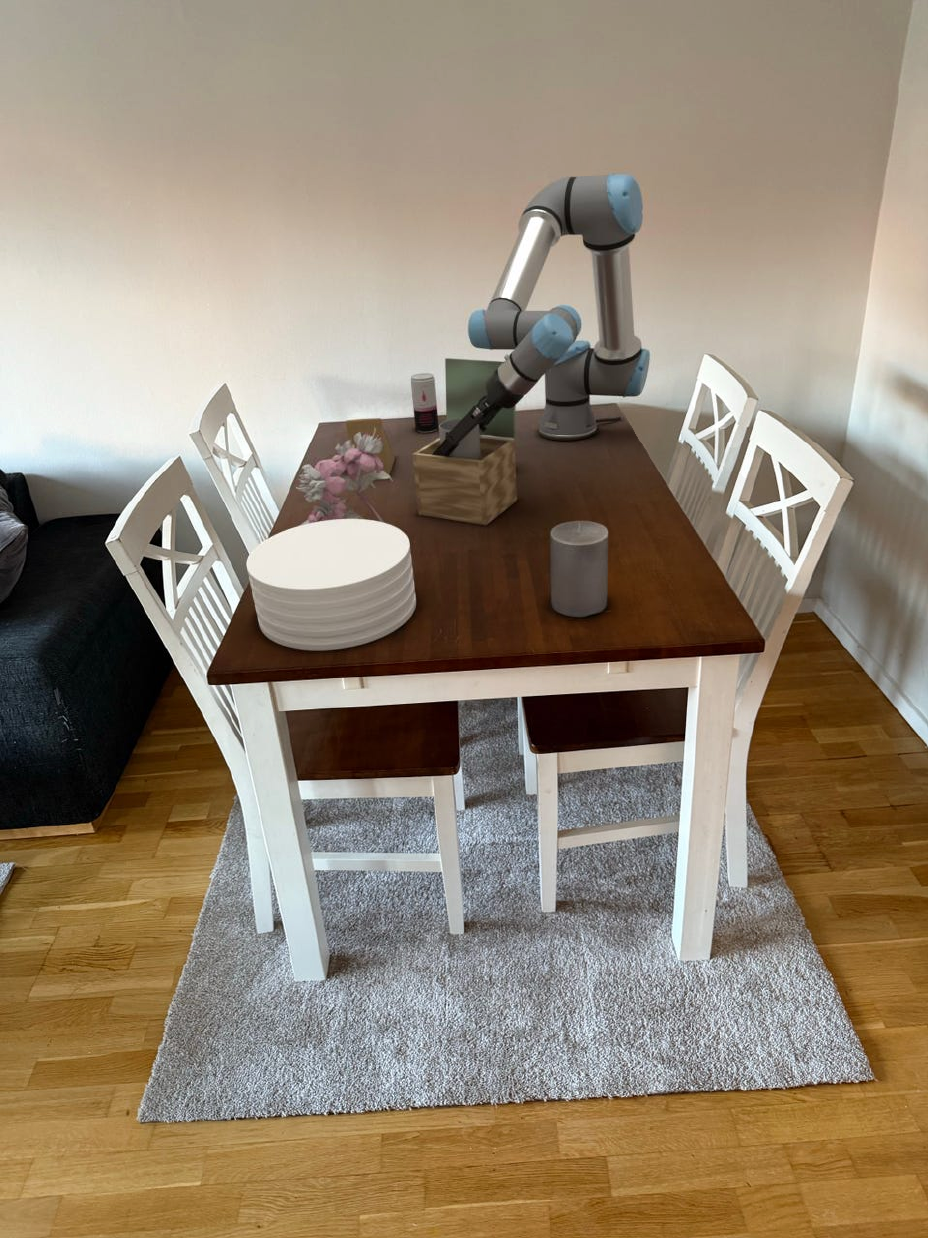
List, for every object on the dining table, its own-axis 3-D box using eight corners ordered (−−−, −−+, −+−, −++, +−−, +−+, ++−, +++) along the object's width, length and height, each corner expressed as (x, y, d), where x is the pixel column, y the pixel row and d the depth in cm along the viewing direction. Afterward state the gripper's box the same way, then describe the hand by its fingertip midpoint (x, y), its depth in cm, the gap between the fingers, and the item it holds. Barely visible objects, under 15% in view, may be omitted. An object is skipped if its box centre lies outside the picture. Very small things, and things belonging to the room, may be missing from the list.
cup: (486, 464, 188) (484, 419, 184) (474, 477, 182) (471, 431, 177) (450, 462, 191) (446, 418, 186) (437, 475, 185) (433, 429, 180)
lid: (514, 362, 180) (516, 362, 181) (445, 358, 188) (446, 357, 188) (513, 438, 186) (515, 437, 187) (446, 431, 194) (448, 430, 195)
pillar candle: (560, 588, 156) (559, 510, 149) (613, 595, 153) (615, 515, 145) (543, 613, 148) (541, 533, 141) (599, 621, 145) (600, 539, 137)
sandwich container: (396, 457, 225) (389, 399, 218) (388, 478, 212) (381, 418, 204) (363, 458, 226) (356, 401, 218) (353, 479, 212) (345, 419, 205)
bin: (486, 525, 183) (482, 462, 176) (418, 514, 191) (412, 453, 184) (517, 500, 194) (514, 439, 187) (452, 491, 201) (447, 432, 195)
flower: (370, 501, 195) (309, 413, 179) (437, 514, 180) (376, 420, 164) (313, 565, 188) (244, 480, 173) (377, 585, 173) (308, 494, 157)
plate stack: (417, 641, 143) (410, 580, 137) (248, 658, 142) (234, 596, 137) (414, 567, 167) (408, 512, 162) (269, 581, 167) (258, 526, 161)
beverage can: (441, 426, 246) (436, 372, 239) (435, 433, 240) (430, 378, 233) (419, 425, 247) (414, 372, 240) (412, 433, 242) (407, 379, 235)
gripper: (522, 354, 179) (460, 424, 194) (472, 381, 163) (409, 454, 178) (546, 382, 179) (482, 449, 194) (499, 411, 163) (433, 482, 178)
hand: (447, 451), depth 186 cm, fingers closed on cup, 8 cm apart
